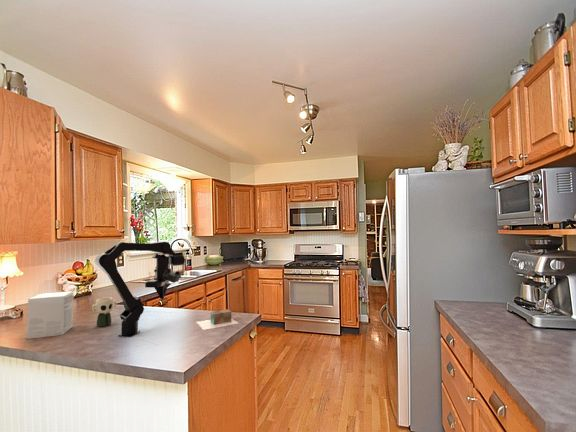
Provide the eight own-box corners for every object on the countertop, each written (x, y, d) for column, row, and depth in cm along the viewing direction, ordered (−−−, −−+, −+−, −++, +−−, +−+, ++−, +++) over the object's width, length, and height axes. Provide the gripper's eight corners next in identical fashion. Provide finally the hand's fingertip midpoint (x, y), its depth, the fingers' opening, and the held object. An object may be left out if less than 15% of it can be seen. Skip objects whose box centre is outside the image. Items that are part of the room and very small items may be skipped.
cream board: (203, 331, 129) (203, 329, 129) (196, 323, 141) (196, 322, 141) (238, 324, 138) (238, 323, 138) (228, 317, 150) (228, 316, 150)
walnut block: (213, 314, 136) (231, 311, 141) (210, 311, 140) (228, 309, 145) (213, 324, 136) (231, 321, 140) (210, 322, 140) (228, 319, 145)
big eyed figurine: (94, 329, 133) (95, 302, 134) (88, 327, 137) (89, 300, 138) (119, 323, 142) (119, 297, 143) (112, 321, 146) (113, 296, 147)
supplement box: (73, 326, 139) (74, 290, 140) (62, 335, 127) (64, 295, 128) (39, 330, 134) (41, 293, 135) (25, 339, 122) (27, 298, 123)
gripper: (166, 269, 128) (166, 304, 127) (187, 264, 147) (187, 295, 146) (144, 269, 130) (143, 303, 129) (167, 264, 149) (167, 294, 148)
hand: (162, 299), depth 138 cm, fingers closed
